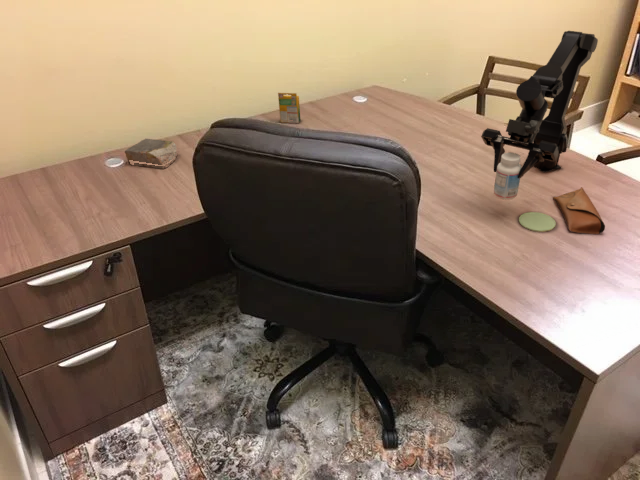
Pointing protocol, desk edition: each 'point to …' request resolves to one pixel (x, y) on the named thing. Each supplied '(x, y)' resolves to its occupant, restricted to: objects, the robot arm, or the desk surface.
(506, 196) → the pill bottle
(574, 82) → the robot arm
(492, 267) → the desk surface
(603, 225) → the sunglasses case
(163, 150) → the geological specimen
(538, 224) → the felt coaster
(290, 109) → the crayon box
